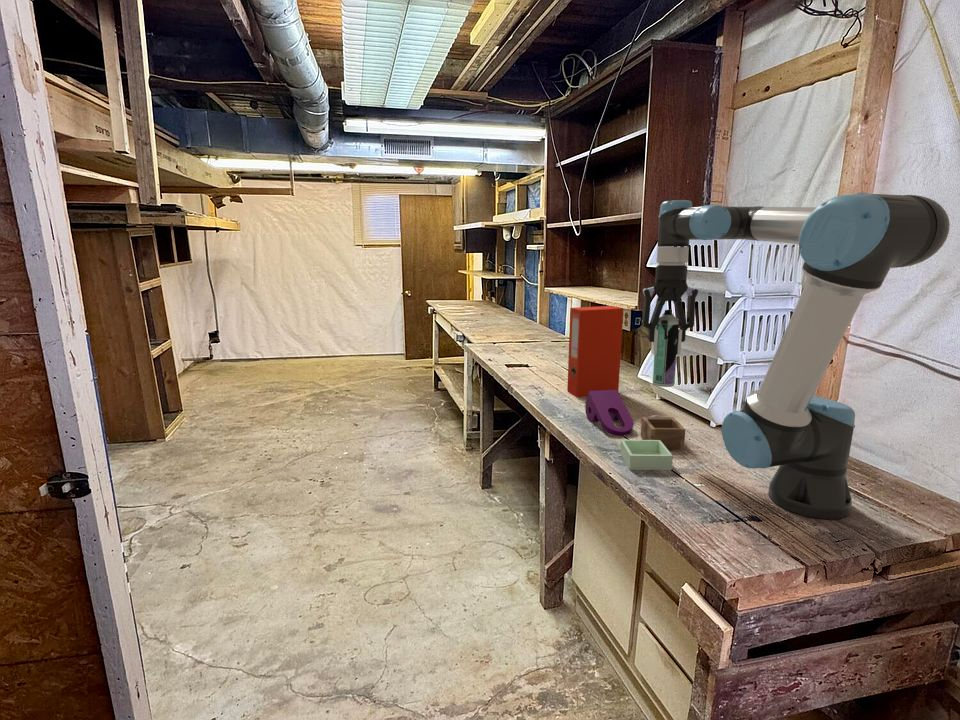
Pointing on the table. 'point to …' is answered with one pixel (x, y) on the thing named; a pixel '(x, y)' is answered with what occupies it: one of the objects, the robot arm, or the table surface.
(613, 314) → the file binder
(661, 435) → the brown open-top box
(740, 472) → the table surface
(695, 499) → the table surface
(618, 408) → the mounting bracket
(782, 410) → the robot arm
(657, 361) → the spray can
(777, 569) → the table surface
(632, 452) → the parts tray
